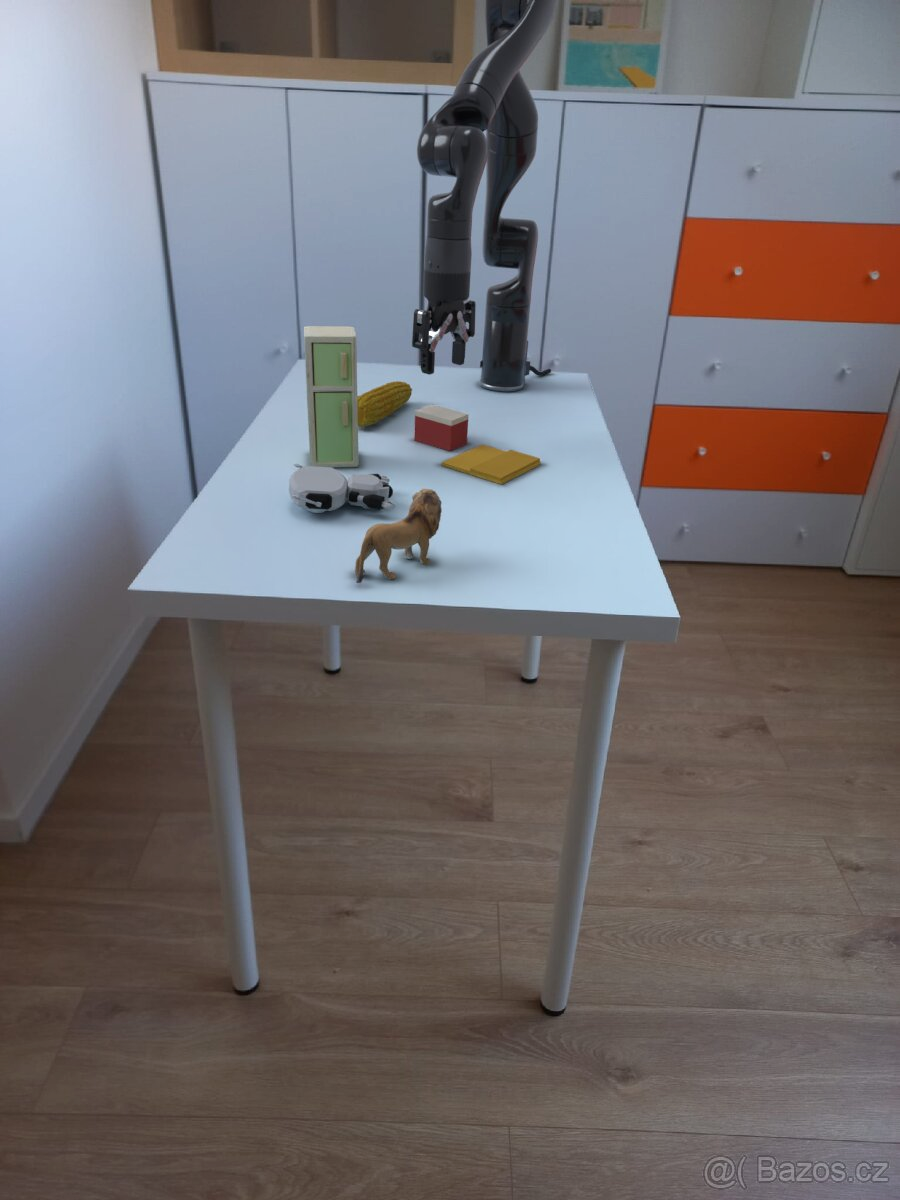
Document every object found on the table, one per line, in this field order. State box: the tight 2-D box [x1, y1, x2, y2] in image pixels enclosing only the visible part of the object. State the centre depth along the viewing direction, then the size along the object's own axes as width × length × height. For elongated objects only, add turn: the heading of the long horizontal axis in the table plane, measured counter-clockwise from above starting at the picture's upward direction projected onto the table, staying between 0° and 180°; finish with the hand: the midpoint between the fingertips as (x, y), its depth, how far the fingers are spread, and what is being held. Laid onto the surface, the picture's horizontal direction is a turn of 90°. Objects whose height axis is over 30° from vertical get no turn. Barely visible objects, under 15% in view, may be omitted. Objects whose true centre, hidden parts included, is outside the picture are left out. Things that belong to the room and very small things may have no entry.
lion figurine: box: [354, 488, 443, 584], centre depth 104 cm, size 15×5×9 cm, turn 142°
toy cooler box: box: [413, 404, 469, 452], centre depth 146 cm, size 8×5×6 cm, turn 53°
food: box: [357, 380, 413, 428], centre depth 157 cm, size 21×6×6 cm, turn 159°
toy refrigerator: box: [303, 325, 360, 469], centre depth 131 cm, size 8×7×21 cm
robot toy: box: [288, 463, 395, 514], centre depth 121 cm, size 12×4×15 cm
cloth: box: [441, 444, 542, 485], centre depth 138 cm, size 12×12×1 cm
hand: (443, 368), depth 141 cm, fingers open, 8 cm apart
